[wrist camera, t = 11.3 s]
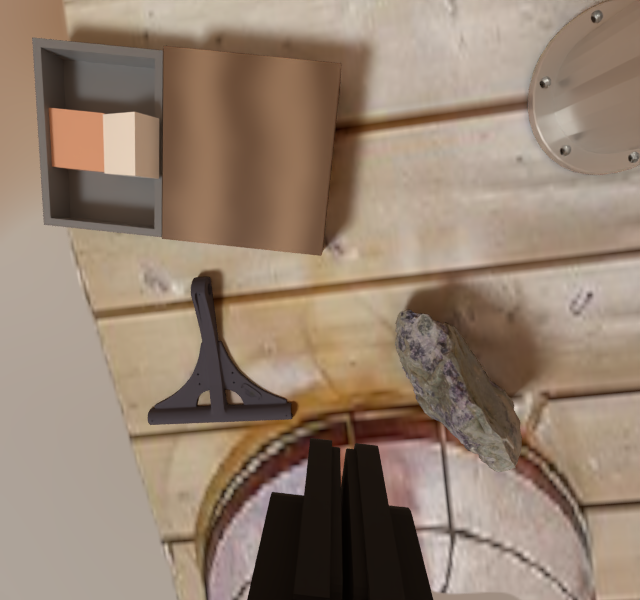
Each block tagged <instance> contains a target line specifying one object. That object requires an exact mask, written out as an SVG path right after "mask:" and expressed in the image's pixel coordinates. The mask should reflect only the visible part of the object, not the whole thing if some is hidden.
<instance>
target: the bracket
mask: <svg viewBox="0 0 640 600" xmlns="http://www.w3.org/2000/svg"><path fill="white" fill-rule="evenodd" d="M191 296H192V300H193V303H194V307H195V311H196V315H197V319H198V323H199V327H200V332H201V337H202V343H201V348H200V354H199V359H198V362H197V365H196V367H195V370H194V372H193V374H192V376H191V377H190V379H189V380H188V381H187V383H186V384H185V385H184V386H183V387H182V388H181V389H180V390H179V391H177V392H176V393H175V394H174V395H172V396H171V397H169V398H167V399H165V400H164V401H162V402H160V403H158V404H156V405H155V406H154V407H155V408H151V409H150V411H149V413H148V423H149V424H150V425H159V424H184V423H209V422H234V421H259V420H284V419H292V417H293V416H292V414H291V403H287V401H286V399H284V398H281V397H278V396H276V395H273V394H271V393H269V392H267V391H265V390H263V389H261V388H259V387H258V386H256V385H255V384H253V383H252V382H251V381H249V380H248V379H247V378H246V377H245V376H244V375H242V374H241V373H240V372H239V371H238V369H237V368H236V367H235V365H234V364H233V363H232V361H231V360H230V358H229V356H228V354H227V352H226V350H225V348H224V346H223V344H222V342H221V341H219V340H218V333H217V325H216V317H215V309H214V301H213V294H212V286H211V278H210V277H196V278H194V279H193V281H192V285H191ZM225 389H228V390H231V391H234V392H236V393H237V394H238V395H239V396H240V397H241V398H242V400H243V403H244V405H228V403H227V400H226V394H225ZM207 390H210V399H211V406H197V400H198V397H199V395H200V394H201V393H203V392H205V391H207Z"/></svg>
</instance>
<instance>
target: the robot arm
mask: <svg viewBox="0 0 640 600" xmlns="http://www.w3.org/2000/svg"><path fill="white" fill-rule="evenodd" d="M540 83H541V84H542V88H541V86H540ZM528 113H529V121H530V125H531V128H532V131H533V134H534V136H535V138H536V140H537V142H538V144H539V145H540V147H541V148H542V150H543V151H544V152H545V153H546V154H547V155H548V156H549V158H551V159H552V160H553V161H555V162H556V163H557V164H559V165H560V166H562V167H564V168H566V169H569V170H571V171H573V172H577V173H582V174H587V175H604V174H610V173H618V172H621V171H625V170H628V169H632V168H634V167H636V166H638V165H640V0H610V1H605V2H603V3H601V4H598V5H596V6H594V7H591V8H589V9H588V10H586V11H585V12H583V13H582V14H580V15H579V16H577V17H576V18H574V19H573V20H572V21H570V22H569V23H568V24H567V25H566V26H564V27H563V28H562V29H561V30H560V31H559V32H558V33H557V34H556V36H555V37H554V38H553V39H552V40H551V41H550V42H549V44H548V45H547V47H546V48H545V50H544V51H543V53H542V54H541V56H540V58H539V60H538V62H537V65H536V67H535V69H534V72H533V75H532V79H531V83H530V87H529V94H528ZM560 149H561V150H562V153H561V154H560ZM247 600H433V597H432V593H431V589H430V585H429V581H428V577H427V573H426V569H425V565H424V561H423V557H422V553H421V549H420V545H419V541H418V537H417V533H416V529H415V525H414V521H413V517H412V514H411V511H410V509H409V508H406V507H397V506H389V504H388V499H387V493H386V488H385V482H384V477H383V471H382V465H381V460H380V454H379V449H378V446H375V445H366V444H358V443H356V444H355V446H354V449H346V454H345V461H344V468H343V476H342V484H341V471H340V448H338V447H332V441H331V440H322V439H313V438H310V447H309V456H308V465H307V474H306V484H305V493H304V496H302V495H293V494H285V493H276V492H272V494H271V497H270V501H269V506H268V510H267V515H266V519H265V523H264V528H263V532H262V537H261V541H260V546H259V550H258V555H257V559H256V563H255V568H254V572H253V577H252V581H251V586H250V590H249V595H248V599H247Z"/></svg>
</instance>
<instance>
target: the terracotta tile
mask: <svg viewBox="0 0 640 600" xmlns="http://www.w3.org/2000/svg"><path fill="white" fill-rule="evenodd" d="M103 114H105V113H97V112H87V111H77V110H67V109H57V108H49V123H50V140H51V157H52V167H58V168H64V169H72V170H82V171H92V172H102V173H104V139H103Z"/></svg>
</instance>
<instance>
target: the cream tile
mask: <svg viewBox="0 0 640 600" xmlns="http://www.w3.org/2000/svg"><path fill="white" fill-rule="evenodd" d="M103 139H104V174H112V175H120V176H128V177H141V178H154V179H159V118H156V117H152V116H148V115H145V114H141V113H137V112H126V113H114V114H103Z"/></svg>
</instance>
